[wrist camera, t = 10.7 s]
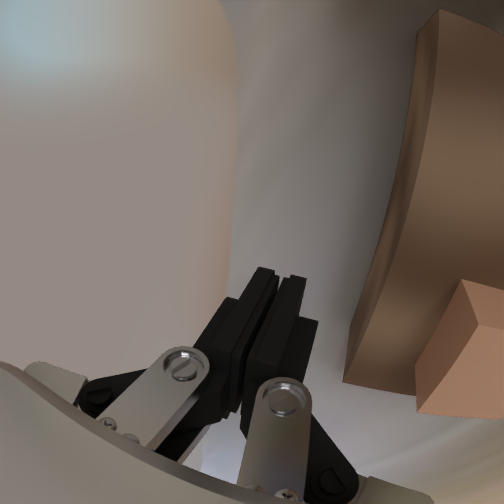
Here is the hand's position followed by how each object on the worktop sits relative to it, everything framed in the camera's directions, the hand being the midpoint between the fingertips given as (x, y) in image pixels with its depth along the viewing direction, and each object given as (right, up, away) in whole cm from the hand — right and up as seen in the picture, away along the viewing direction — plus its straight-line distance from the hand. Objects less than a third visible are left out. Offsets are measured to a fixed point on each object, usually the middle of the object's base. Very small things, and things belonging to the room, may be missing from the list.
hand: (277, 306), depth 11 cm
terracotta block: (+8, -2, -1) cm, 9 cm away
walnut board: (+11, +3, 0) cm, 11 cm away
